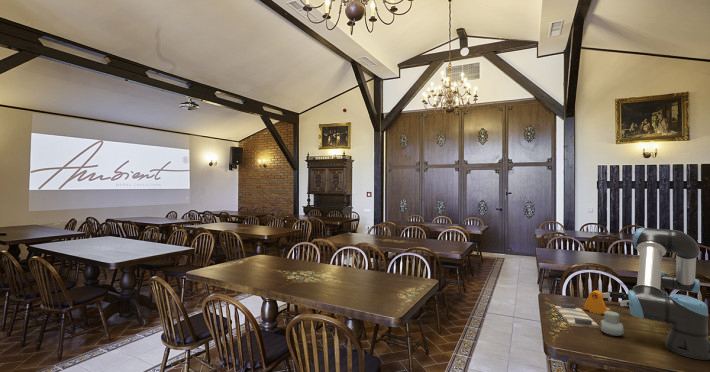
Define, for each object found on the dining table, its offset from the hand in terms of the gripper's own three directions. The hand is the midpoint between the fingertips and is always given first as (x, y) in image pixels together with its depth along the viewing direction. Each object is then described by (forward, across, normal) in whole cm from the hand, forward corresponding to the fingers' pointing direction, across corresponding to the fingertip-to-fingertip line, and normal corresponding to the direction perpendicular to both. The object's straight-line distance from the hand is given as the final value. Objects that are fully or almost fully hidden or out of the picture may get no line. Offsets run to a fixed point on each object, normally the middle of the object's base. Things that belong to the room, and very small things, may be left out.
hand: (610, 299), depth 197 cm
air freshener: (+26, -26, -7) cm, 38 cm away
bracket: (+9, 0, -7) cm, 11 cm away
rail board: (+28, -6, -6) cm, 29 cm away
